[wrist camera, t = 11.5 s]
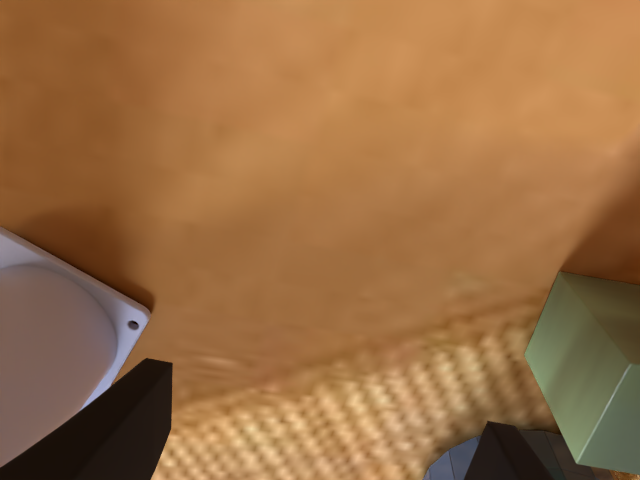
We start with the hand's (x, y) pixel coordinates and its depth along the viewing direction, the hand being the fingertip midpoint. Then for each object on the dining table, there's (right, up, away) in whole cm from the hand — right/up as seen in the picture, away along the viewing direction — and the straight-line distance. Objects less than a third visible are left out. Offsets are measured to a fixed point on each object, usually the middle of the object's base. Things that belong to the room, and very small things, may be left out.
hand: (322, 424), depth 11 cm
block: (+12, +1, +10) cm, 16 cm away
